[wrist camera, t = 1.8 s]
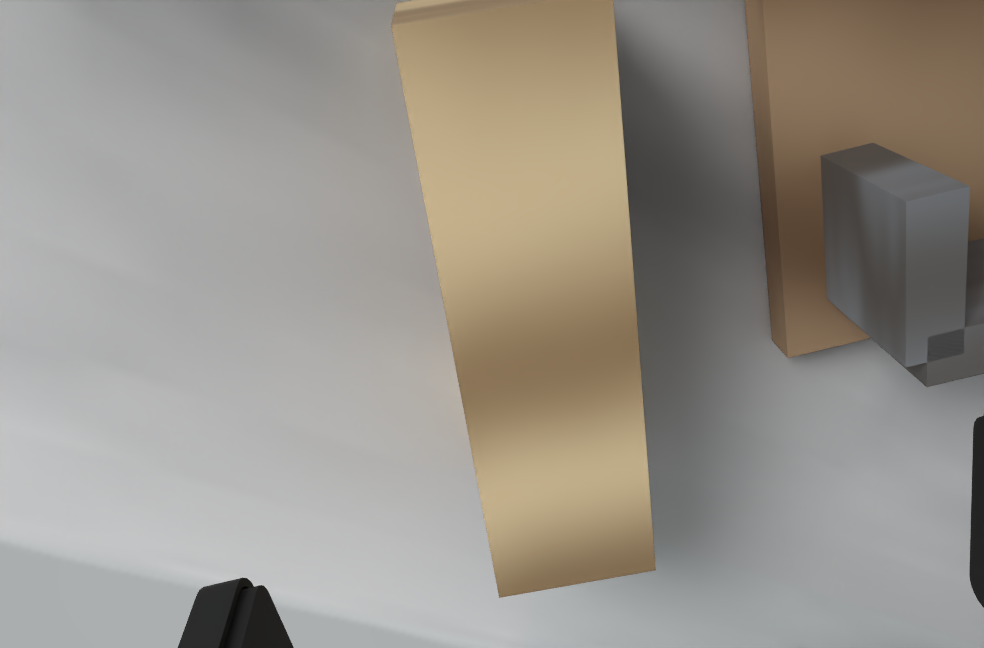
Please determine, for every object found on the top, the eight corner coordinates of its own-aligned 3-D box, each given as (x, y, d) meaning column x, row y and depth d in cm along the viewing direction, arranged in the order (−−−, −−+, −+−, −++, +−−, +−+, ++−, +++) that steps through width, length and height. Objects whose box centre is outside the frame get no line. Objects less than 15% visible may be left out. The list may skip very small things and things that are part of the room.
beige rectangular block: (396, 2, 17) (391, 26, 13) (560, -25, 17) (612, -11, 13) (481, 464, 22) (499, 597, 18) (606, 443, 22) (655, 569, 18)
